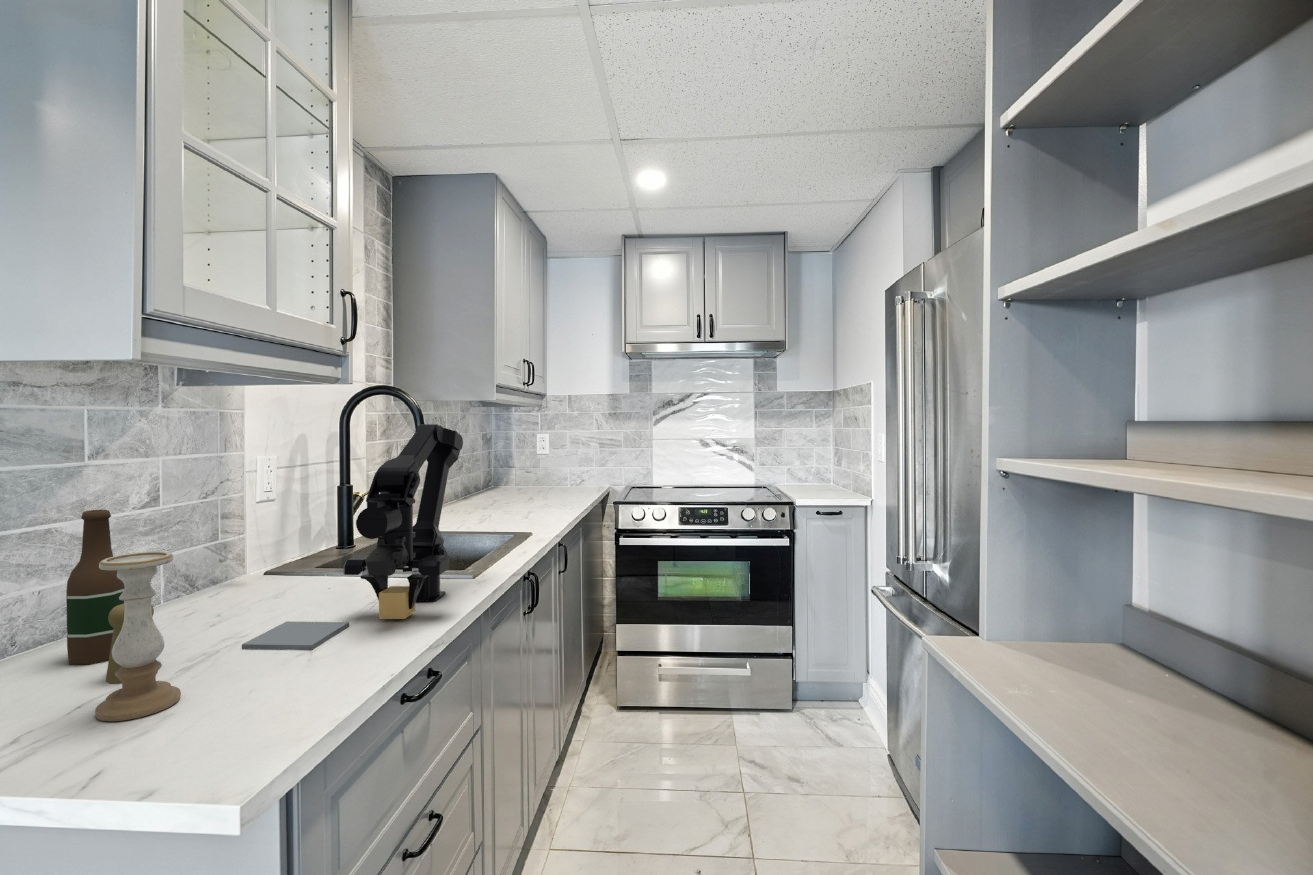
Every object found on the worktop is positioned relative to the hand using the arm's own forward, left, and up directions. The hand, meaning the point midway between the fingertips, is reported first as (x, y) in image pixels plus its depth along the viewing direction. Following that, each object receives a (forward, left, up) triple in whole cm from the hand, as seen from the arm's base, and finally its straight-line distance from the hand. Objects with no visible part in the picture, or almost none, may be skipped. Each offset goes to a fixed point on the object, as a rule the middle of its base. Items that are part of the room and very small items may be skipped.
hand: (397, 608), depth 119 cm
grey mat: (+11, -13, -2) cm, 17 cm away
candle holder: (+38, -18, -2) cm, 42 cm away
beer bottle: (+21, -40, -2) cm, 45 cm away
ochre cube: (0, 0, -1) cm, 1 cm away
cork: (+28, -28, -2) cm, 40 cm away
